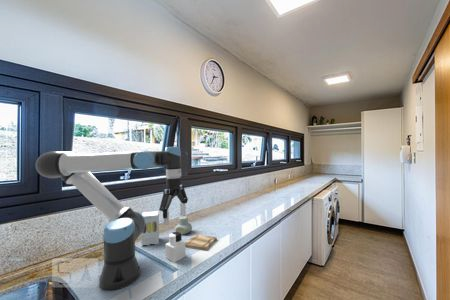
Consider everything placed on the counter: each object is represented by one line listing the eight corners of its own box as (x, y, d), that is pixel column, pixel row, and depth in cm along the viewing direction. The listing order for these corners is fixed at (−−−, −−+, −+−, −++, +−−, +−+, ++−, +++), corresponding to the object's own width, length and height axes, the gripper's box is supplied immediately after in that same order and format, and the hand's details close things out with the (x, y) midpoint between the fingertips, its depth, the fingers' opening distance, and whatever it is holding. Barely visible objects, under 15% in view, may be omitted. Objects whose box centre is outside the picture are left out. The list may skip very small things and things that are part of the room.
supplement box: (140, 246, 114) (140, 216, 114) (142, 240, 122) (142, 212, 123) (158, 244, 116) (158, 214, 116) (159, 237, 125) (158, 210, 125)
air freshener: (193, 231, 134) (193, 215, 135) (188, 236, 126) (188, 220, 127) (179, 229, 137) (178, 215, 137) (172, 234, 129) (172, 219, 130)
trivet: (205, 250, 107) (205, 247, 107) (183, 246, 112) (183, 243, 112) (216, 239, 120) (216, 236, 120) (195, 236, 125) (195, 233, 125)
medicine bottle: (177, 252, 106) (176, 229, 106) (186, 256, 101) (185, 232, 101) (165, 258, 100) (164, 233, 100) (174, 262, 96) (173, 237, 96)
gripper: (163, 181, 88) (165, 229, 88) (193, 174, 111) (194, 213, 111) (150, 180, 91) (151, 228, 91) (181, 174, 114) (183, 212, 114)
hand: (175, 220), depth 101 cm, fingers open, 13 cm apart
